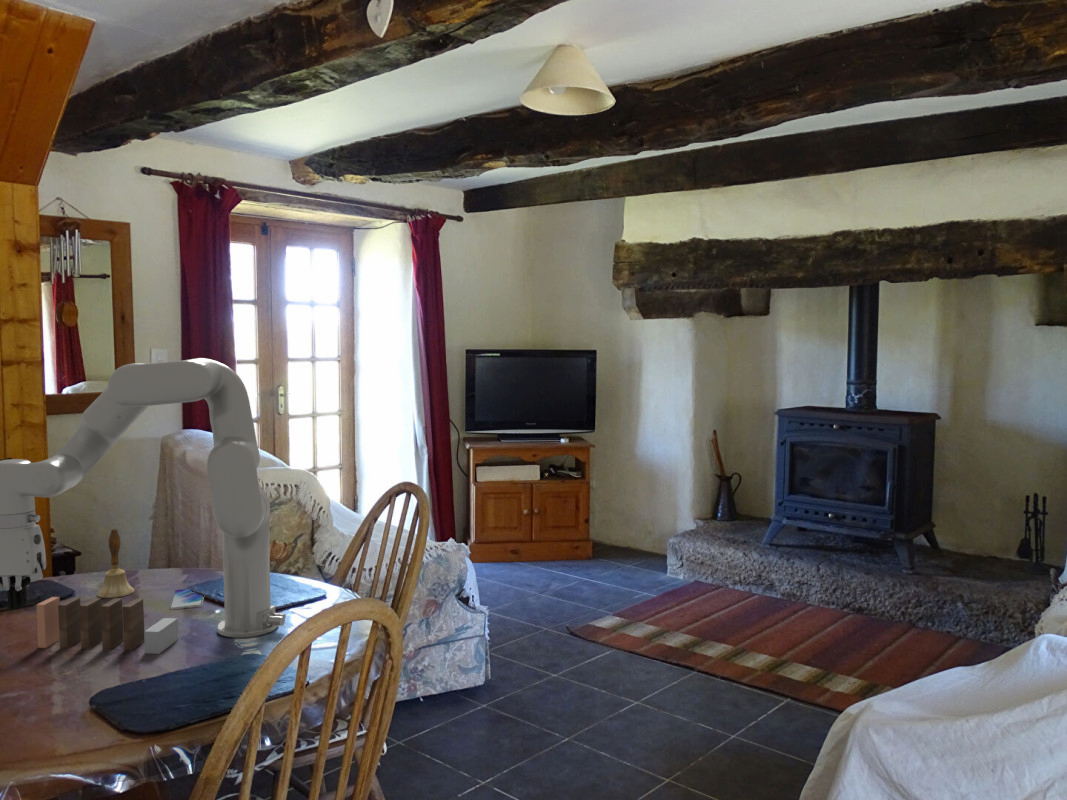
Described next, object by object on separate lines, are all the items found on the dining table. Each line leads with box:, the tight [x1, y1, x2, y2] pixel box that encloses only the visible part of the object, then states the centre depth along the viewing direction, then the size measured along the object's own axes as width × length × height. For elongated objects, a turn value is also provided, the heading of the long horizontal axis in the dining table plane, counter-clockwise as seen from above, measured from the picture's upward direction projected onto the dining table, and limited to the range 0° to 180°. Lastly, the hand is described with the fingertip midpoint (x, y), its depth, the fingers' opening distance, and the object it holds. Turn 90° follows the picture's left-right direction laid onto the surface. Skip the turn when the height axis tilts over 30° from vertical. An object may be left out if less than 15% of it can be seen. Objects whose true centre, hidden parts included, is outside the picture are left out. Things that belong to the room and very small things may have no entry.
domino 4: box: [101, 597, 124, 651], centre depth 175 cm, size 2×5×9 cm, turn 177°
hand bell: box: [96, 528, 135, 599], centre depth 209 cm, size 8×8×16 cm
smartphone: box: [168, 587, 205, 611], centre depth 206 cm, size 7×1×15 cm
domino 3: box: [80, 597, 102, 650], centre depth 175 cm, size 2×5×9 cm, turn 177°
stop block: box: [143, 617, 179, 655], centre depth 174 cm, size 3×8×4 cm, turn 177°
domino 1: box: [36, 596, 61, 649], centre depth 176 cm, size 2×5×9 cm, turn 176°
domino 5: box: [122, 598, 145, 651], centre depth 175 cm, size 2×5×9 cm, turn 177°
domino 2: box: [58, 597, 81, 650], centre depth 175 cm, size 2×5×9 cm, turn 176°
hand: (17, 607), depth 176 cm, fingers closed
